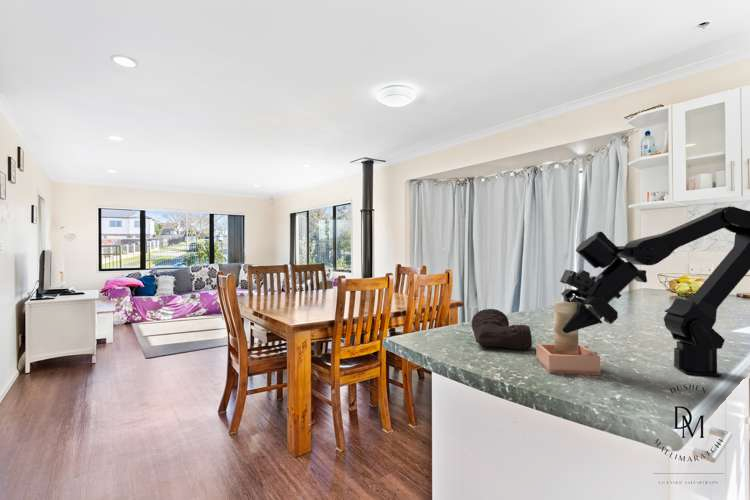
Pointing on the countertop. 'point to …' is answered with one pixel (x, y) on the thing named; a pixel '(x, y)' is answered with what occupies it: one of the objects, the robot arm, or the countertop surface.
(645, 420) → the countertop surface
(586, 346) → the handle
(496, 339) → the dark brown elbow
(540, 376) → the countertop surface
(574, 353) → the beech dowel
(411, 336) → the countertop surface
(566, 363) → the box
